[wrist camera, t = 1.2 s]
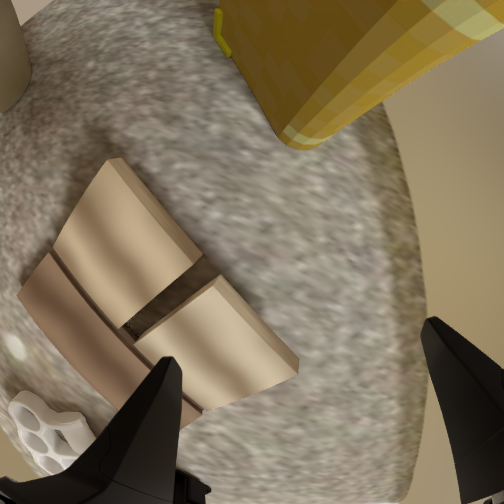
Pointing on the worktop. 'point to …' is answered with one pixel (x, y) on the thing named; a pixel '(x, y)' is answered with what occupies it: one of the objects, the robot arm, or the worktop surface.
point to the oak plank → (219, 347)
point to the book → (341, 53)
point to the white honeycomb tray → (49, 432)
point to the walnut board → (89, 335)
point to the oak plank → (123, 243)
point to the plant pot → (12, 58)
